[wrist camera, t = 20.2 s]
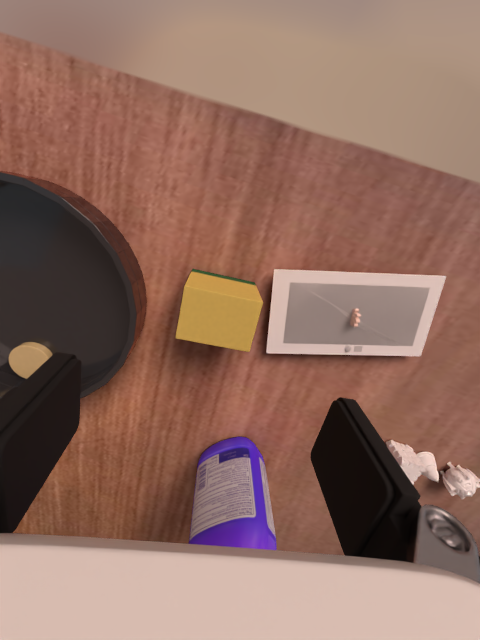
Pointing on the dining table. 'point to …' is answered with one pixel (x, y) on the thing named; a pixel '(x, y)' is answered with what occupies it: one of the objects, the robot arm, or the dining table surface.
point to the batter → (28, 358)
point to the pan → (65, 281)
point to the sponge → (219, 311)
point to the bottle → (232, 498)
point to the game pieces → (433, 470)
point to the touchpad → (351, 312)
